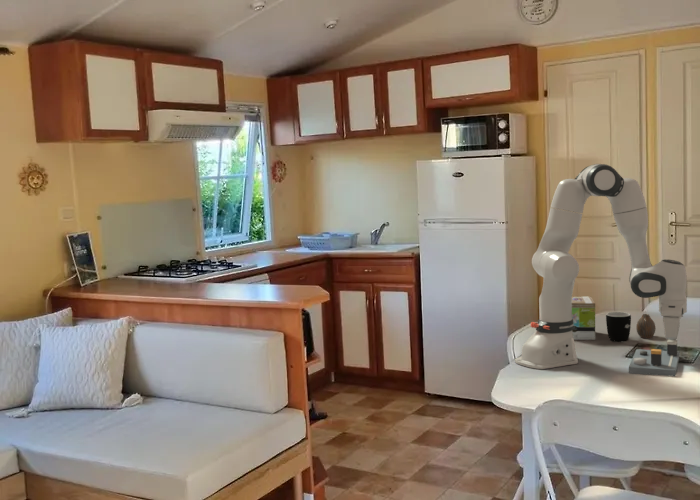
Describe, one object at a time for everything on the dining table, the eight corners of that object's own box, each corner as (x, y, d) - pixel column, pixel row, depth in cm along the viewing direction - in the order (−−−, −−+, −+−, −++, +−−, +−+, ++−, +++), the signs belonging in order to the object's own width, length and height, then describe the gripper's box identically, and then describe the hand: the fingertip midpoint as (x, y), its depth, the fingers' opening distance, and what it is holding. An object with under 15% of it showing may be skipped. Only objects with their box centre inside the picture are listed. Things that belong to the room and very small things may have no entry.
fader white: (676, 354, 257) (676, 342, 257) (667, 354, 258) (667, 341, 258) (677, 353, 259) (677, 340, 259) (667, 352, 261) (667, 339, 260)
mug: (626, 343, 284) (626, 317, 283) (603, 341, 290) (602, 315, 289) (636, 337, 294) (636, 311, 293) (613, 334, 299) (613, 309, 298)
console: (675, 376, 241) (675, 365, 241) (628, 373, 248) (628, 362, 247) (679, 357, 263) (679, 347, 262) (636, 354, 269) (636, 345, 269)
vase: (658, 338, 290) (658, 316, 289) (640, 339, 290) (640, 316, 289) (651, 334, 297) (651, 312, 296) (633, 335, 297) (633, 313, 296)
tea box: (596, 340, 292) (595, 302, 291) (569, 340, 294) (568, 302, 293) (591, 331, 307) (591, 295, 305) (566, 331, 309) (565, 295, 307)
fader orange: (661, 364, 246) (660, 351, 246) (651, 364, 248) (651, 350, 247) (661, 362, 249) (661, 349, 248) (651, 362, 250) (651, 348, 249)
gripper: (664, 300, 271) (664, 338, 273) (660, 312, 253) (660, 352, 255) (684, 301, 269) (684, 339, 270) (681, 313, 250) (681, 353, 252)
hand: (672, 346), depth 262 cm, fingers closed
